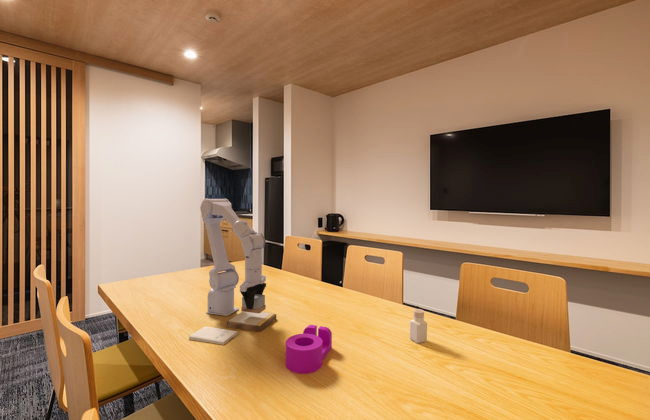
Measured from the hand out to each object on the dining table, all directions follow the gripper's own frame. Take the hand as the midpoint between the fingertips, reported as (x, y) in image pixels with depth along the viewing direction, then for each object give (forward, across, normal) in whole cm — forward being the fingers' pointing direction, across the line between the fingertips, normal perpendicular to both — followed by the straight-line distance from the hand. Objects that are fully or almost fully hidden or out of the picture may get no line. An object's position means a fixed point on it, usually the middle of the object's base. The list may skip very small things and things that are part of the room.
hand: (253, 306), depth 113 cm
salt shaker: (+6, +4, -56) cm, 56 cm away
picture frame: (+6, 0, 0) cm, 6 cm away
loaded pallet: (+1, 0, 0) cm, 1 cm away
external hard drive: (+7, -14, +6) cm, 16 cm away
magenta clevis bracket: (+6, -17, -27) cm, 32 cm away
